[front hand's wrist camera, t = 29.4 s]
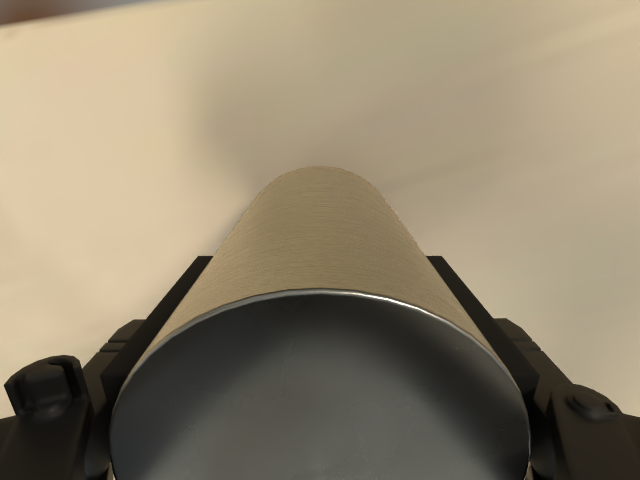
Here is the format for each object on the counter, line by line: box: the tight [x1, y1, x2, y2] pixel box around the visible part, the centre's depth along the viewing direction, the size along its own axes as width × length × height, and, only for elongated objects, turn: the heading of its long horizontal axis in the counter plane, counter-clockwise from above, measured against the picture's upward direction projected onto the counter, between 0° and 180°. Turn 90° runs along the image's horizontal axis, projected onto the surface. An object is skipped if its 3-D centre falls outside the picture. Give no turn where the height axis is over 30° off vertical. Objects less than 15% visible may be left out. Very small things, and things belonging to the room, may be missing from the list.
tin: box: [109, 166, 531, 480], centre depth 12 cm, size 8×8×12 cm
